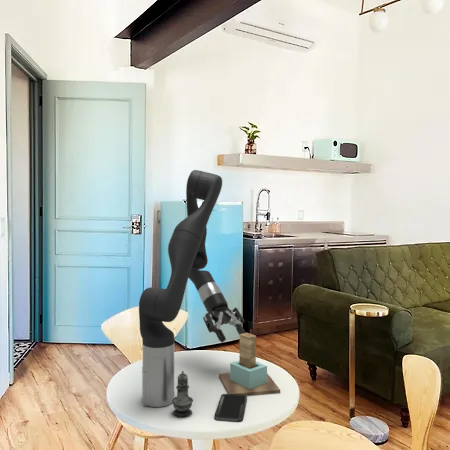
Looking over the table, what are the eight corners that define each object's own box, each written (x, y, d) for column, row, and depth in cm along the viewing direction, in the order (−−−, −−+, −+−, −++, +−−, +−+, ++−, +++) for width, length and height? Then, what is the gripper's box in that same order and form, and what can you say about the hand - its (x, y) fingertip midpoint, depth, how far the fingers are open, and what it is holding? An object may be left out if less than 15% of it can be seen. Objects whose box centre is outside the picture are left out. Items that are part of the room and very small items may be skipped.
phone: (213, 417, 121) (221, 393, 136) (213, 421, 121) (221, 397, 136) (242, 419, 120) (247, 395, 135) (242, 423, 120) (247, 398, 135)
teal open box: (249, 389, 139) (249, 371, 138) (230, 379, 146) (230, 363, 145) (266, 382, 144) (267, 365, 143) (247, 374, 151) (247, 358, 150)
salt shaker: (168, 416, 123) (168, 373, 122) (176, 406, 129) (177, 365, 128) (188, 419, 122) (188, 376, 121) (196, 409, 127) (196, 368, 126)
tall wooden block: (248, 381, 142) (249, 337, 141) (239, 376, 146) (239, 334, 145) (255, 379, 144) (256, 336, 143) (246, 374, 148) (246, 332, 147)
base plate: (229, 397, 135) (229, 394, 135) (218, 376, 151) (218, 373, 151) (280, 392, 139) (280, 389, 139) (264, 373, 154) (264, 370, 154)
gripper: (200, 294, 151) (222, 336, 143) (233, 289, 160) (255, 328, 152) (191, 307, 155) (211, 348, 147) (223, 301, 164) (244, 340, 156)
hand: (233, 338), depth 149 cm, fingers open, 8 cm apart
